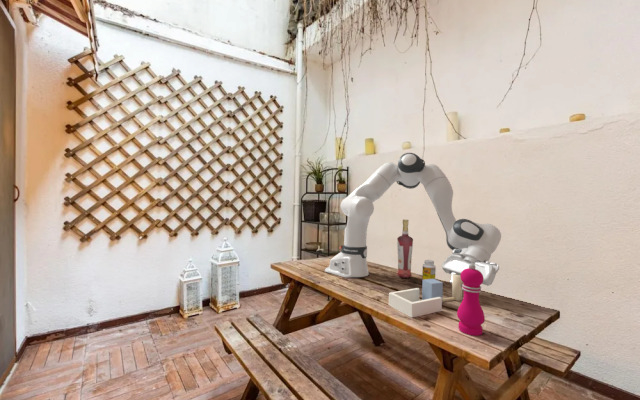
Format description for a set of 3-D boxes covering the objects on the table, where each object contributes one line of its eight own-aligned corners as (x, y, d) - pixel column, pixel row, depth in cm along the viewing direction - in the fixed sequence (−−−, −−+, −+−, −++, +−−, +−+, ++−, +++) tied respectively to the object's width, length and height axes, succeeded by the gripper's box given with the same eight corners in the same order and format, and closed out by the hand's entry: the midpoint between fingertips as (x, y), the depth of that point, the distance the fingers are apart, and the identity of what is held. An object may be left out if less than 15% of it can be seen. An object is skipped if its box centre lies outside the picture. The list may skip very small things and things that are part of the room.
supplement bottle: (419, 281, 132) (420, 259, 132) (429, 280, 134) (430, 258, 134) (427, 285, 127) (428, 262, 127) (437, 284, 128) (438, 261, 128)
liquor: (413, 279, 135) (415, 220, 134) (397, 278, 135) (399, 220, 135) (410, 275, 142) (411, 219, 141) (395, 274, 143) (396, 219, 142)
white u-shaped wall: (411, 317, 92) (411, 303, 92) (388, 305, 102) (388, 292, 102) (441, 310, 98) (441, 297, 98) (416, 299, 108) (417, 287, 108)
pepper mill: (455, 323, 89) (457, 259, 88) (482, 327, 86) (484, 262, 86) (457, 333, 82) (459, 264, 82) (486, 338, 79) (488, 267, 79)
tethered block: (431, 305, 103) (431, 281, 103) (421, 300, 107) (422, 277, 107) (465, 300, 108) (466, 277, 108) (455, 296, 113) (456, 273, 113)
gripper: (504, 270, 106) (487, 299, 102) (456, 258, 124) (439, 282, 120) (497, 259, 104) (479, 289, 100) (449, 248, 122) (432, 273, 118)
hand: (457, 285), depth 110 cm, fingers closed on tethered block, 4 cm apart
